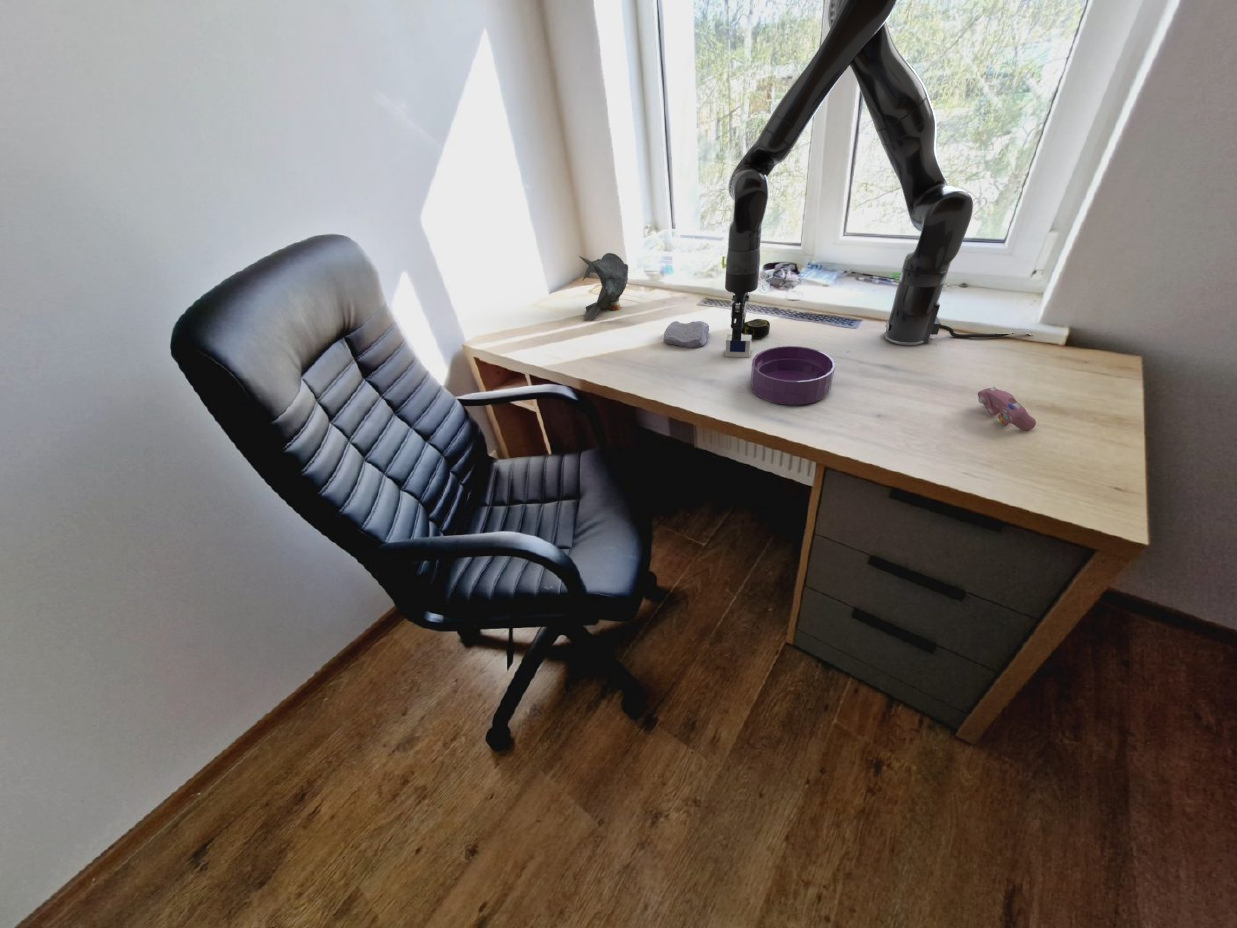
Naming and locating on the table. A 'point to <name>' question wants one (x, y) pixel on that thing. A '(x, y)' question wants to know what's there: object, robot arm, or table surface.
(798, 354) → the bowl
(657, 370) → the table surface
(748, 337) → the white box
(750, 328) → the tape measure
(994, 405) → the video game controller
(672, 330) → the stone block
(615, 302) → the dark grey bird-shaped figure
